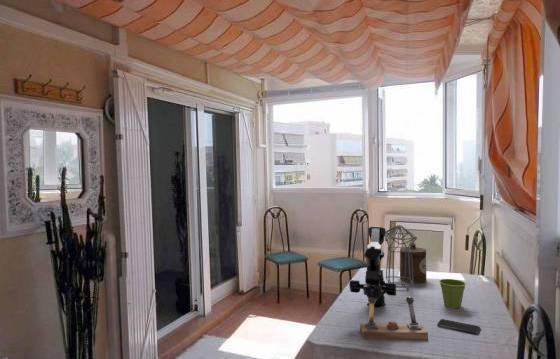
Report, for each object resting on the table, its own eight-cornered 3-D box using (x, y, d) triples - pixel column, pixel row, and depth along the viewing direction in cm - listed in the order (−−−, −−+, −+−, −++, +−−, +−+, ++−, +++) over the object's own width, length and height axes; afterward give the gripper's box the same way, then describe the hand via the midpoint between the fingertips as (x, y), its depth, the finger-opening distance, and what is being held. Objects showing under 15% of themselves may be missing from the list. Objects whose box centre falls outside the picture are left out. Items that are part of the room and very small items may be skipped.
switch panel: (360, 328, 152) (359, 318, 151) (420, 329, 150) (420, 318, 150) (363, 338, 143) (363, 327, 142) (428, 339, 141) (427, 327, 141)
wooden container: (428, 284, 212) (427, 245, 212) (401, 282, 216) (400, 244, 216) (424, 277, 227) (424, 240, 227) (399, 275, 230) (398, 240, 230)
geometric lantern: (410, 285, 211) (410, 223, 210) (417, 294, 195) (418, 227, 194) (381, 284, 213) (382, 222, 211) (386, 293, 197) (387, 227, 196)
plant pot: (470, 311, 169) (469, 286, 169) (442, 309, 172) (441, 285, 172) (462, 302, 181) (462, 279, 181) (436, 301, 183) (436, 278, 183)
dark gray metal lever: (368, 324, 148) (368, 296, 152) (375, 325, 147) (375, 296, 151) (367, 324, 146) (367, 295, 149) (374, 325, 145) (375, 296, 148)
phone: (477, 333, 144) (436, 324, 153) (477, 336, 144) (436, 327, 153) (480, 326, 150) (441, 318, 159) (480, 329, 150) (441, 321, 159)
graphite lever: (409, 325, 147) (404, 296, 150) (415, 324, 147) (410, 296, 151) (412, 325, 144) (407, 296, 148) (419, 324, 144) (414, 296, 148)
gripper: (349, 261, 158) (346, 295, 148) (395, 263, 153) (395, 299, 142) (352, 275, 166) (349, 308, 155) (396, 278, 160) (396, 312, 150)
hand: (371, 306), depth 150 cm, fingers closed
